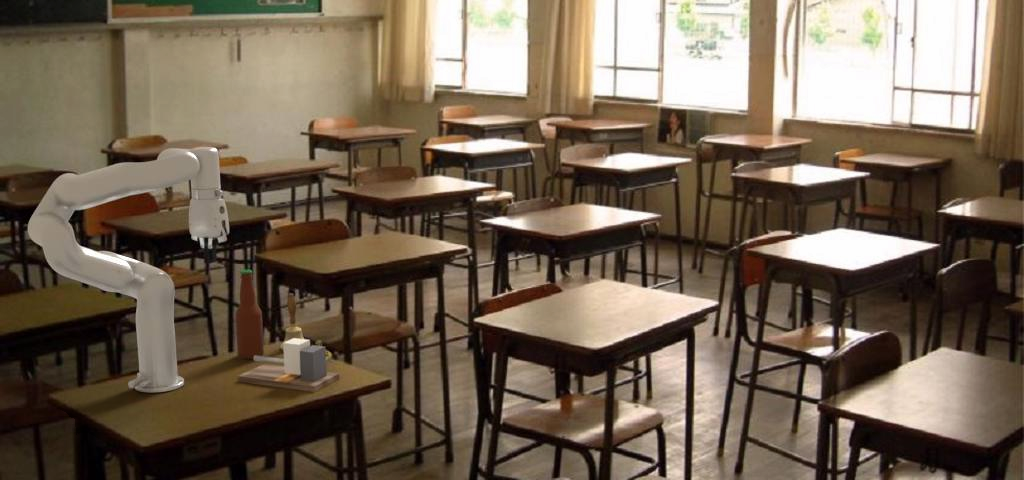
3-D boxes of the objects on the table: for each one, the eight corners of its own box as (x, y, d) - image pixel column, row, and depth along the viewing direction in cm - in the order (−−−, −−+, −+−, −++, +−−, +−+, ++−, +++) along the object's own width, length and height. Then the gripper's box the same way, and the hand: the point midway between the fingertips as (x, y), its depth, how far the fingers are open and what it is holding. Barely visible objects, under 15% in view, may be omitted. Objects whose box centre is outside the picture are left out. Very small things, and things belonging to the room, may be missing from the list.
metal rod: (305, 367, 328) (305, 362, 328) (253, 361, 335) (253, 356, 334) (308, 366, 329) (308, 361, 329) (256, 359, 336) (256, 354, 336)
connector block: (314, 382, 325) (312, 352, 323) (301, 380, 326) (299, 350, 325) (326, 375, 330) (325, 346, 329) (313, 374, 332) (312, 345, 330)
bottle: (267, 353, 358) (262, 267, 353) (259, 360, 350) (254, 273, 346) (242, 352, 358) (238, 267, 354) (234, 359, 351) (229, 273, 347)
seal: (326, 371, 344) (335, 355, 359) (327, 355, 343) (336, 339, 358) (293, 368, 344) (303, 352, 359) (294, 351, 343) (304, 336, 358)
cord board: (314, 392, 321) (314, 385, 321) (237, 381, 331) (237, 375, 331) (339, 378, 332) (339, 372, 332) (264, 369, 342) (264, 363, 342)
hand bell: (285, 352, 358) (282, 298, 355) (276, 345, 365) (273, 292, 362) (312, 348, 362) (310, 294, 359) (303, 341, 369) (301, 289, 366)
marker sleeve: (300, 375, 327) (299, 344, 325) (284, 372, 329) (283, 342, 327) (311, 369, 331) (309, 339, 330) (295, 367, 333) (293, 338, 332)
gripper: (238, 193, 328) (242, 261, 332) (192, 190, 335) (196, 257, 338) (220, 197, 322) (224, 267, 325) (174, 194, 328) (178, 263, 331)
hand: (210, 262), depth 332 cm, fingers closed
